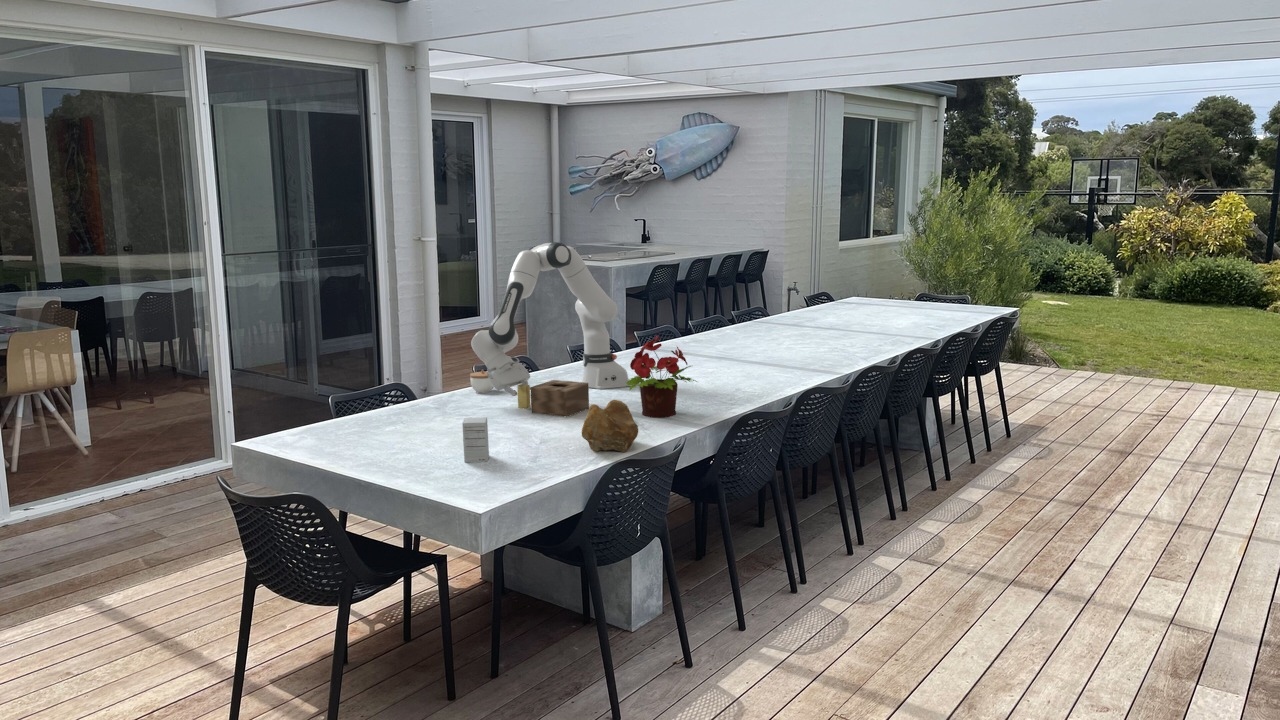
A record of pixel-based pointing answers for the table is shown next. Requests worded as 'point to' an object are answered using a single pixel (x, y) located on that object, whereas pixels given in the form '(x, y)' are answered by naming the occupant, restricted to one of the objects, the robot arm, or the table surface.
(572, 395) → the box
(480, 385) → the lidded jar
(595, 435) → the rough brown rock
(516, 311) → the robot arm
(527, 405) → the gold rectangular block
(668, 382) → the potted plant
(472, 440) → the supplement box
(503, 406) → the table surface
